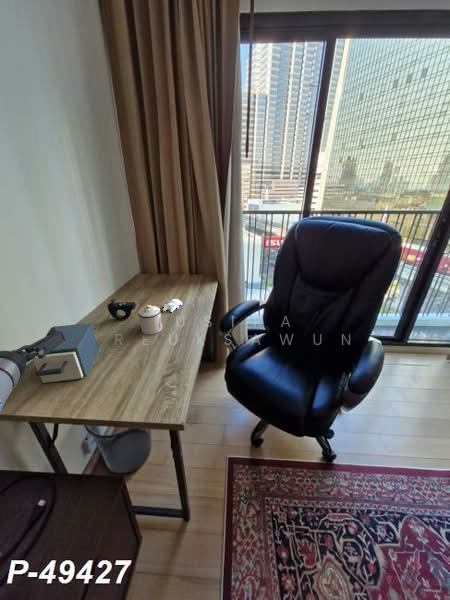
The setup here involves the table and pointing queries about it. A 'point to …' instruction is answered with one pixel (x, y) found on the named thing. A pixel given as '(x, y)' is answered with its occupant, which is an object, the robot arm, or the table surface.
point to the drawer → (58, 366)
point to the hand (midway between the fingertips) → (26, 340)
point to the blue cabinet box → (79, 344)
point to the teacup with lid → (150, 319)
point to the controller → (116, 306)
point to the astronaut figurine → (172, 305)
